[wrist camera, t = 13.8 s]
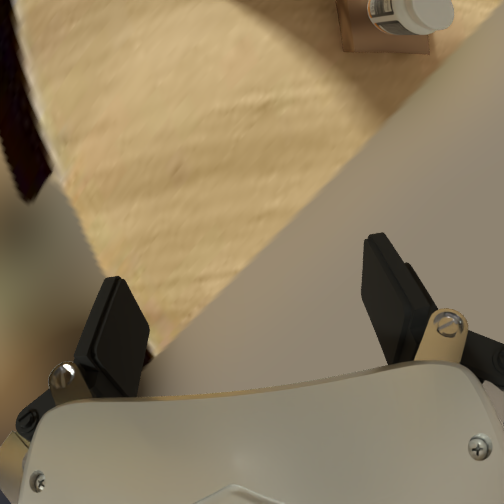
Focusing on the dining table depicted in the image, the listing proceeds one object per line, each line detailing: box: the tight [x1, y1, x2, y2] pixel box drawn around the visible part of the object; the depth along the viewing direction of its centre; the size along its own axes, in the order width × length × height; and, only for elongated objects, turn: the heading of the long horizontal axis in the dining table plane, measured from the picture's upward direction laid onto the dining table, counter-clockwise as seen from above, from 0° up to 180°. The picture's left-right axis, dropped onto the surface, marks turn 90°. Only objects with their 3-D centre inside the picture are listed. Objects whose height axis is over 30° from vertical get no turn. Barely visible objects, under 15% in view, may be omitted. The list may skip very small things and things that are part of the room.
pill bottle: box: [367, 0, 454, 35], centre depth 22 cm, size 6×6×10 cm
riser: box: [336, 0, 430, 55], centre depth 27 cm, size 10×10×4 cm
